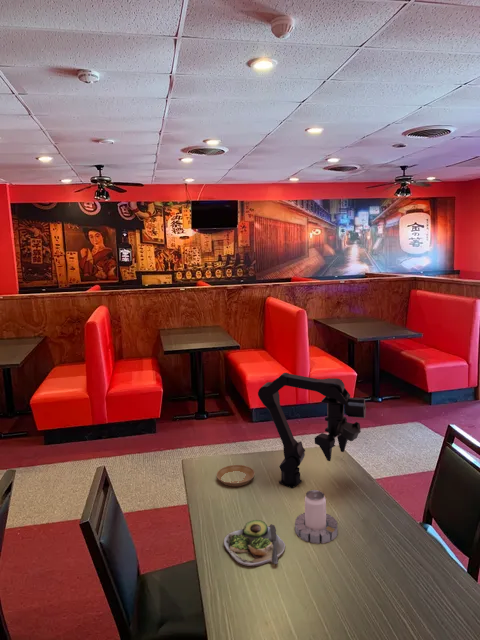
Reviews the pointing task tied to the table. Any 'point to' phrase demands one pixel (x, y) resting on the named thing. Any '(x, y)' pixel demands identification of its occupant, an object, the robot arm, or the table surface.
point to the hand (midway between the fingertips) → (335, 456)
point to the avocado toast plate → (255, 543)
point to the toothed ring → (316, 535)
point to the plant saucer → (241, 468)
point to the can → (315, 510)
